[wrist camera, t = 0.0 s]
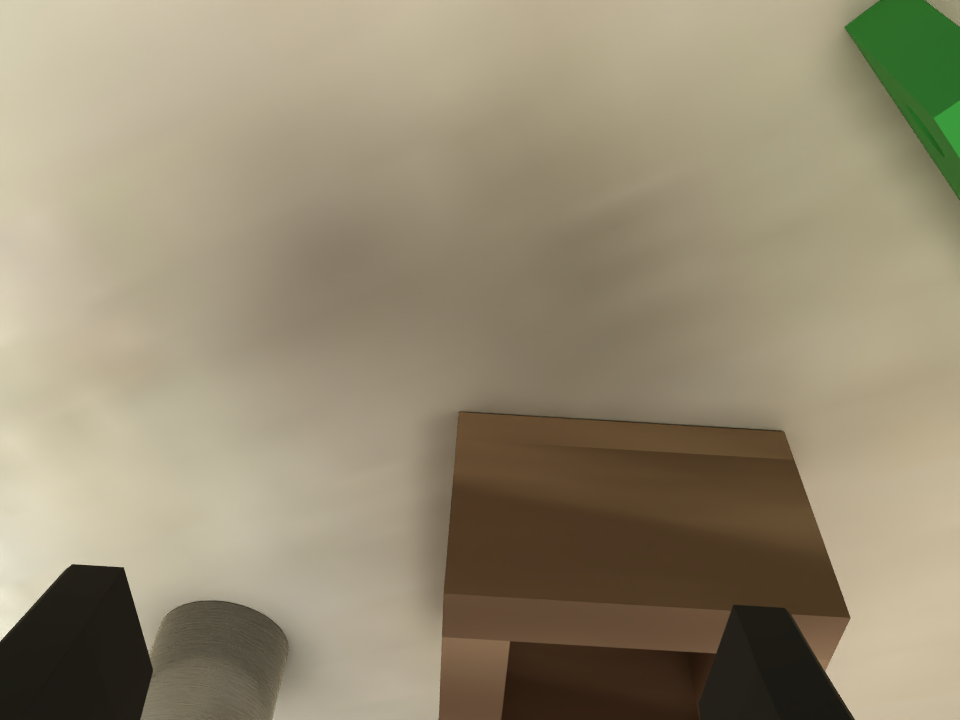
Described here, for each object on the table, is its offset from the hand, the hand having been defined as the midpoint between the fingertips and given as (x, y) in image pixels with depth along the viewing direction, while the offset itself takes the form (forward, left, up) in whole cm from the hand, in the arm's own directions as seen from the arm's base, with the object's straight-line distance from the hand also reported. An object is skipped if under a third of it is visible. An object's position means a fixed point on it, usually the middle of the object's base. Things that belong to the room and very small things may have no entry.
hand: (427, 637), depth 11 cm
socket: (-9, -4, -10) cm, 14 cm away
